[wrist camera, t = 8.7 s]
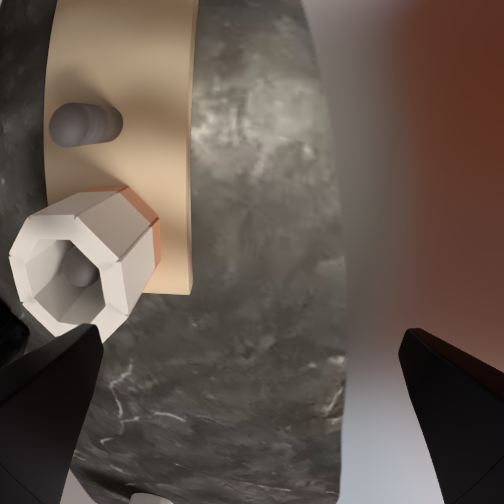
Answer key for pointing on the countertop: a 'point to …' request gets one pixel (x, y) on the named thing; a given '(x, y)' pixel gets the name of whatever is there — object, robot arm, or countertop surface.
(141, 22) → the pin board
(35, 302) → the sleeve
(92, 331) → the robot arm
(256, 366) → the countertop surface
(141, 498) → the white cup
